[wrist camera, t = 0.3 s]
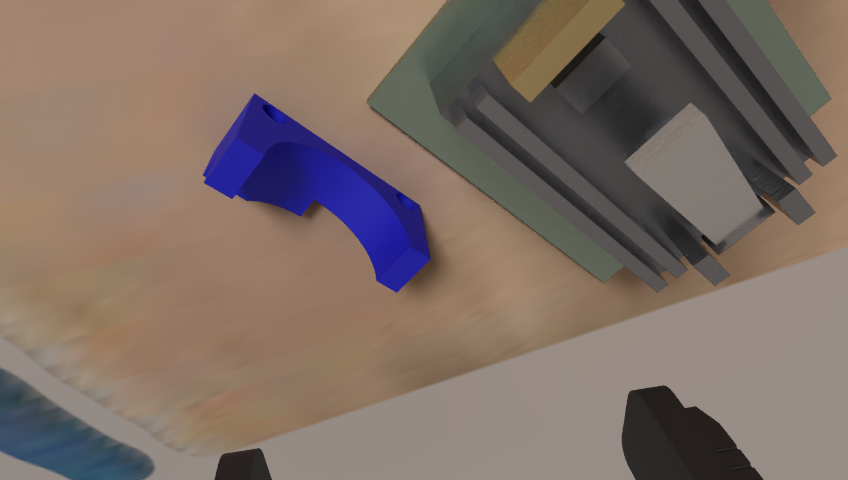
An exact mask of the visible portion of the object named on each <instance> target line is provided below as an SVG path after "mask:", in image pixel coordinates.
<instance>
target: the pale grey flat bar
mask: <svg viewBox="0 0 848 480" xmlns="http://www.w3.org/2000/svg"><path fill="white" fill-rule="evenodd" d="M625 163H626V164H627V165H628V166H629V168H630V169H631V170H632V171H633V172H634V173H635V174H636V175H637V176H638V177H639V178H641V179H642V180H643V181H644V182H645V183H646V184H647V185H649V186H650V187H651V188H652V189H653V190H654V191H655V192H656V193H658V194H659V195H660V196H661V197H662V198H663V199H664V200H666V201H667V202H668V203H669V204H670V205H671V206H672V207H674V208H675V209H676V210H677V211H678V212H679V213H680V214H681V215H683V216H684V217H685V218H686V219H687V220H688V221H689V222H691V223H692V224H693V225H694V226H695V227H696V228H697V229H699V230H700V231H701V232H702V233H703V235H702V236H701V238H702V239H703V240H704V241H705V242H706V243H707V244H708V245H709V246H710V247H711V248H712V249H713V250H714V251H715V252H716V253H717V254H718V255H719V254H721V253H722V252H723V251H725V250H726V249H727V248H729V247H730V246H731V245H733V244H734V243H735V242H737V241H738V240H739V239H741V238H742V237H743V236H745V235H746V234H747V233H749V232H750V231H751V230H753V229H754V228H755V227H756V226H758V225H759V224H760V223H762V222H763V221H764V220H766V219H767V218H768V217H770V216H771V215H772V214H774V213H775V211H774V210H773V209H772V207H771V206H770V205H769V204H767V203H766V202H765V201H764V200H763V199H762V198H761V197H760V196H758V195H757V194H755V193H754V192H753V190H752V188H751V187H750V185H749V184H748V182H747V180H746V179H745V177H744V176H743V174H742V172H741V171H740V169H739V168H738V166H737V164H736V163H735V161H734V160H733V158H732V156H731V155H730V153H729V152H728V150H727V148H726V147H725V145H724V144H723V142H722V140H721V139H720V137H719V136H718V134H717V132H716V131H715V129H714V128H713V126H712V124H711V123H710V121H709V120H708V118H707V116H706V115H705V114H703V113H702V112H701V111H700V110H699V109H697V108H696V107H695V106H694V105H693V104H692V103H689V104H688V105H687V106H686V107H685V108H684V109H683V110H682V111H680V112H679V113H678V114H677V115H676V116H675V117H674V118H673V119H672V120H670V121H669V122H668V123H667V124H666V125H665V126H664V127H663V128H662V129H660V130H659V131H658V132H657V133H656V134H655V135H654V136H653V137H651V138H650V139H649V140H648V141H647V142H646V143H645V144H644V145H643V146H641V147H640V148H639V149H638V150H637V151H636V152H635V153H634V154H633V155H631V156H630V157H629V158H628V159H627V160H626V161H625Z"/></svg>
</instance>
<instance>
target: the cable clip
mask: <svg viewBox="0 0 848 480" xmlns="http://www.w3.org/2000/svg"><path fill="white" fill-rule="evenodd" d="M203 176H205V177H206V179H205V182H204V183H205V184H207V185H208V186H210V187H212V188H214V189H215V190H217V191H219V192H221V193H223V194H224V195H226V196H228V197H230V198H231V199H233V197H234V196H235V195H238V196H239V197H241V198H243V199H245V200H246V201H259V202H265V203H270V204H273V205H276V206H279V207H282V208H284V209H286V210H289V211H291V212H293V213H295V214H297V215H298V216H301V215H302V214H303V213H304V212H305V210H306V209H307V208H308V207H309V206H310V204H311V203H312V202H313V201H314V200H316V201H317V202H319V203H320V204H322V205H323V206H325V207H326V208H327V209H328V210H330V211H331V212H332V213H333V214H335V215H336V216H337V217H338V218H339V219H340V220H341V221H342V222H344V224H345V225H346V226H347V227H348V228H349V229H350V230H351V231H352V232H353V233H354V234H355V236H356V237H357V238H358V239H359V241H360V242H361V244H362V245H363V247H364V248H365V250H366V251H367V253H368V255H369V257H370V259H371V262H372V264H373V267H374V270H375V274H376V281H377V282H379V283H381V284H383V285H385V286H386V287H388V288H390V289H392V290H393V291H395V292H398V291H399V290H400V289H401V288H402V287H403V286H404V285H405V284H406V283H407V282H408V281H409V280H410V279H411V278H412V277H413V276H414V275H415V274H416V273H417V272H418V271H419V270H420V269H421V268H422V267H423V266H424V265H425V264H426V263H427V262H428V261H429V260H430V254H429V249H428V244H427V239H426V234H425V229H424V224H423V219H422V214H421V209H420V205H419V204H417V203H416V202H414V201H413V200H411V199H410V198H408V197H407V196H405V195H404V194H402V193H401V192H399V191H398V190H396V189H395V188H393V187H392V186H391V185H389V184H388V183H386V182H385V181H383V180H382V179H380V178H379V177H377V176H376V175H374V174H373V173H371V172H370V171H368V170H367V169H365V168H364V167H362V166H361V165H360V164H358V163H357V162H355V161H354V160H352V159H351V158H349V157H348V156H346V155H345V154H343V153H342V152H340V151H339V150H337V149H336V148H334V147H333V146H331V145H330V144H329V143H327V142H326V141H324V140H323V139H321V138H320V137H318V136H317V135H315V134H314V133H312V132H311V131H309V130H308V129H306V128H305V127H303V126H302V125H300V124H299V123H298V122H296V121H295V120H293V119H292V118H290V117H289V116H287V115H286V114H284V113H283V112H281V111H280V110H278V109H277V108H275V107H274V106H272V105H271V104H269V103H268V102H267V101H265V100H264V99H262V98H261V97H259V96H258V95H256V94H255V93H254V95H253V96H252V98H251V99H250V101H249V102H248V104H247V105H246V106H245V108H244V109H243V111H242V112H241V114H240V115H239V117H238V118H237V119H236V121H235V122H234V124H233V125H232V127H231V128H230V130H229V131H228V133H227V134H226V135H225V137H224V138H223V140H222V141H221V143H220V144H219V146H218V147H217V148H216V150H215V151H214V153H213V155H212V157H211V159H210V161H209V163H208V165H207V168H206V170H205V172H204V174H203Z"/></svg>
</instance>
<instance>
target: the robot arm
mask: <svg viewBox="0 0 848 480" xmlns="http://www.w3.org/2000/svg"><path fill="white" fill-rule="evenodd" d="M622 447H623V452H624V456H625V459H626V461H627V464H628V466H629V468H630V470H631V472H632V474H633V475H634V477H635V479H636V480H763V478H762V477H761V476H760V474H759V473H758V472H757V471H756V469H755V468H752V467H751V465H750V462H749V460H748V459H747V458H746V457H745V455H744V454H743V453H742V452H741V450H738V449H737V447H736V444H735V443H734V441H733V440H732V439H731V438H730V436H729V435H728V434H727V432H726V431H725V430H724V429H723V427H722V426H721V425H720V424H719V423H718V422H717V421H715V420H714V419H713V418H711V417H710V416H708V415H707V414H706V413H704V412H703V411H701V410H700V409H699V408H697V407H689V408H684V407H683V405H682V404H681V402H680V401H679V400H678V398H677V397H676V396H675V394H674V393H673V392H672V391H671V389H669V388H668V387H667V386H658V387H652V388H645V389H639V390H632V391H630V392H629V394H628V399H627V406H626V412H625V419H624V425H623V432H622ZM215 480H272V479H271V476H270V473H269V470H268V467H267V464H266V461H265V458H264V455H263V452H262V450H261V449H260V448H258V449H252V450H245V451H238V452H232V453H226V454H223V455H222V456H221V458H220V460H219V464H218V468H217V472H216V476H215Z"/></svg>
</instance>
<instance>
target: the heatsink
mask: <svg viewBox="0 0 848 480" xmlns="http://www.w3.org/2000/svg"><path fill="white" fill-rule="evenodd" d="M831 99H832V98H831V97H830V95H829V94H828V92H827V91H826V89H825V88H824V86H823V85H822V83H821V82H820V80H819V79H818V77H817V76H816V74H815V73H814V71H813V70H812V68H811V67H810V65H809V64H808V62H807V61H806V59H805V58H804V56H803V55H802V53H801V52H800V50H799V49H798V48H797V46H796V45H795V43H794V42H793V40H792V39H791V37H790V36H789V34H788V33H787V31H786V30H785V28H784V27H783V25H782V24H781V22H780V21H779V19H778V18H777V16H776V15H775V13H774V12H773V10H772V9H771V7H770V6H769V4H768V3H767V1H766V0H447V2H446V3H445V4H444V5H443V7H442V8H441V9H440V10H439V12H438V13H437V14H436V15H435V16H434V18H433V19H432V20H431V21H430V23H429V24H428V25H427V26H426V28H425V29H424V30H423V31H422V33H421V34H420V35H419V36H418V37H417V39H416V40H415V41H414V42H413V44H412V45H411V46H410V47H409V49H408V50H407V51H406V52H405V53H404V55H403V56H402V57H401V58H400V60H399V61H398V62H397V63H396V65H395V66H394V67H393V68H392V70H391V71H390V72H389V73H388V74H387V76H386V77H385V78H384V79H383V81H382V82H381V83H380V84H379V86H378V87H377V88H376V89H375V91H374V92H373V93H372V94H371V95H370V97H369V98H368V99H367V104H369V105H370V106H371V107H372V108H374V109H375V110H376V111H378V112H379V113H380V114H382V115H383V116H384V117H386V118H387V119H388V120H390V121H391V122H392V123H394V124H395V125H396V126H398V127H399V128H400V129H402V130H403V131H404V132H405V133H407V134H408V135H409V136H411V137H412V138H413V139H415V140H416V141H417V142H419V143H420V144H421V145H423V146H424V147H425V148H427V149H428V150H429V151H431V152H432V153H433V154H435V155H436V156H437V157H438V158H440V159H441V160H442V161H444V162H445V163H446V164H448V165H449V166H450V167H452V168H453V169H454V170H456V171H457V172H458V173H460V174H461V175H462V176H464V177H465V178H466V179H468V180H469V181H470V182H471V183H473V184H474V185H475V186H477V187H478V188H479V189H481V190H482V191H483V192H485V193H486V194H487V195H489V196H490V197H491V198H493V199H494V200H495V201H497V202H498V203H499V204H501V205H502V206H503V207H504V208H506V209H507V210H508V211H510V212H511V213H512V214H514V215H515V216H516V217H518V218H519V219H520V220H522V221H523V222H524V223H526V224H527V225H528V226H530V227H531V228H532V229H534V230H535V231H536V232H537V233H539V234H540V235H541V236H543V237H544V238H545V239H547V240H548V241H549V242H551V243H552V244H553V245H555V246H556V247H557V248H559V249H560V250H561V251H563V252H564V253H565V254H567V255H568V256H569V257H571V258H572V259H573V260H574V261H576V262H577V263H578V264H580V265H581V266H582V267H584V268H585V269H586V270H588V271H589V272H590V273H592V274H593V275H594V276H596V277H597V278H598V279H600V280H601V281H602V282H605V281H606V280H607V279H609V278H610V277H611V276H612V275H614V274H615V273H616V272H617V271H619V270H620V269H621V268H622V267H624V266H625V267H626V268H627V269H629V270H630V271H631V272H632V273H634V274H635V275H636V276H637V277H638V278H640V279H641V280H642V281H643V282H645V283H646V284H647V285H648V286H650V287H651V288H652V289H653V290H655V291H656V292H657V293H658V292H659V291H660V290H662V289H663V288H664V287H666V286H667V285H668V283H667V282H666V281H665V279H664V278H663V277H662V275H661V274H660V273H662V272H663V271H664V270H665V269H666V270H668V271H669V272H670V273H671V274H672V275H673V276H675V277H676V278H678V277H679V276H680V275H682V274H683V273H684V272H685V271H687V270H688V269H687V268H686V267H685V266H684V265H683V263H682V262H681V261H680V260H679V259H680V258H681V257H682V256H683V255H684V256H685V257H686V259H687V260H688V261H689V262H690V263H691V264H692V266H693V267H694V268H695V269H697V270H698V271H699V272H700V273H701V274H702V275H703V276H704V277H706V278H707V279H708V280H709V281H710V282H711V283H712V284H713V285H715V286H716V285H717V284H719V283H720V282H721V281H723V280H724V279H725V278H727V277H728V276H729V275H730V274H729V273H728V272H727V271H726V270H725V269H724V268H723V267H722V265H721V264H720V263H719V262H718V261H717V260H716V259H715V258H714V257H713V256H712V255H711V254H710V252H709V251H708V250H707V249H706V248H705V247H704V246H703V245H702V244H701V243H700V242H702V241H703V239H702V238H701V236H702V235H703V233H702V232H701V231H700V230H699V229H697V228H696V227H695V226H694V225H693V224H692V223H691V222H689V221H688V220H687V219H686V218H685V217H684V216H683V215H681V214H680V213H679V212H678V211H677V210H676V209H675V208H674V207H672V206H671V205H670V204H669V203H668V202H667V201H666V200H664V199H663V198H662V197H661V196H660V195H659V194H658V193H656V192H655V191H654V190H653V189H652V188H651V187H650V186H649V185H647V184H646V183H645V182H644V181H643V180H642V179H641V178H639V177H638V176H637V175H636V174H635V173H634V172H633V171H632V170H631V169H630V168H629V166H628V165H627V164H626V163H625V161H626V160H627V159H628V158H629V157H630V156H631V155H633V154H634V153H635V152H636V151H637V150H638V149H639V148H640V147H641V146H643V145H644V144H645V143H646V142H647V141H648V140H649V139H650V138H651V137H653V136H654V135H655V134H656V133H657V132H658V131H659V130H660V129H662V128H663V127H664V126H665V125H666V124H667V123H668V122H669V121H670V120H672V119H673V118H674V117H675V116H676V115H677V114H678V113H679V112H680V111H682V110H683V109H684V108H685V107H686V106H687V105H688V104H689V103H692V104H693V105H694V106H695V107H696V108H697V109H699V110H700V111H701V112H702V113H703V114H705V115H706V116H707V118H708V120H709V121H710V123H711V124H712V126H713V128H714V129H715V131H716V132H717V134H718V136H719V137H720V139H721V140H722V142H723V144H724V145H725V147H726V148H727V150H728V152H729V153H730V155H731V156H732V158H733V160H734V161H735V163H736V164H737V166H738V168H739V169H740V171H741V172H742V174H743V176H744V177H745V179H746V180H747V182H748V184H749V185H750V187H751V188H752V190H753V192H754V193H755V194H757V195H758V196H763V197H764V198H765V199H766V200H768V201H769V202H770V203H771V204H773V205H774V206H775V207H776V208H778V209H779V210H780V211H781V212H783V213H784V214H785V215H786V216H788V217H789V218H790V219H791V220H792V221H794V222H795V223H796V224H797V225H799V224H801V223H802V222H804V221H805V220H806V219H808V218H809V217H810V216H812V215H813V214H814V213H816V212H815V211H814V210H813V209H812V207H811V206H810V205H809V204H808V203H807V201H806V200H805V199H804V198H803V196H802V195H801V194H800V193H799V192H798V190H797V189H796V188H795V187H793V186H792V185H791V184H789V183H788V182H786V181H785V180H784V179H783V178H784V177H785V176H787V177H789V178H790V179H791V180H793V181H794V182H796V183H797V184H798V185H800V184H801V183H803V182H804V181H805V180H807V179H808V178H809V177H810V176H812V175H813V174H812V173H811V172H810V170H809V169H808V168H807V166H806V165H805V164H804V162H805V161H806V160H807V159H809V158H811V159H812V160H814V161H815V162H817V163H818V164H820V165H821V166H823V167H824V166H825V165H826V164H828V163H829V162H830V161H832V160H833V159H834V158H835V157H837V154H836V153H835V152H834V150H833V149H832V147H831V146H830V145H829V143H828V142H827V141H826V139H825V138H824V136H823V135H822V134H821V132H820V131H819V129H818V128H817V127H816V125H815V124H814V122H813V121H812V120H811V118H810V116H811V115H812V114H813V113H815V112H816V111H817V110H818V109H820V108H821V107H822V106H823V105H825V104H826V103H827V102H828V101H830V100H831Z"/></svg>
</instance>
